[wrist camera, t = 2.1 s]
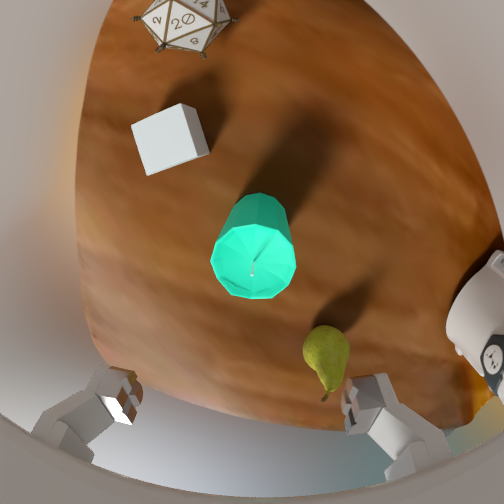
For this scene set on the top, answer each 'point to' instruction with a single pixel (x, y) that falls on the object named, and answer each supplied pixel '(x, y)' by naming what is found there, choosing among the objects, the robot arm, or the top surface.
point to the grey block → (169, 138)
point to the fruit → (327, 355)
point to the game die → (185, 23)
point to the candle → (255, 249)
